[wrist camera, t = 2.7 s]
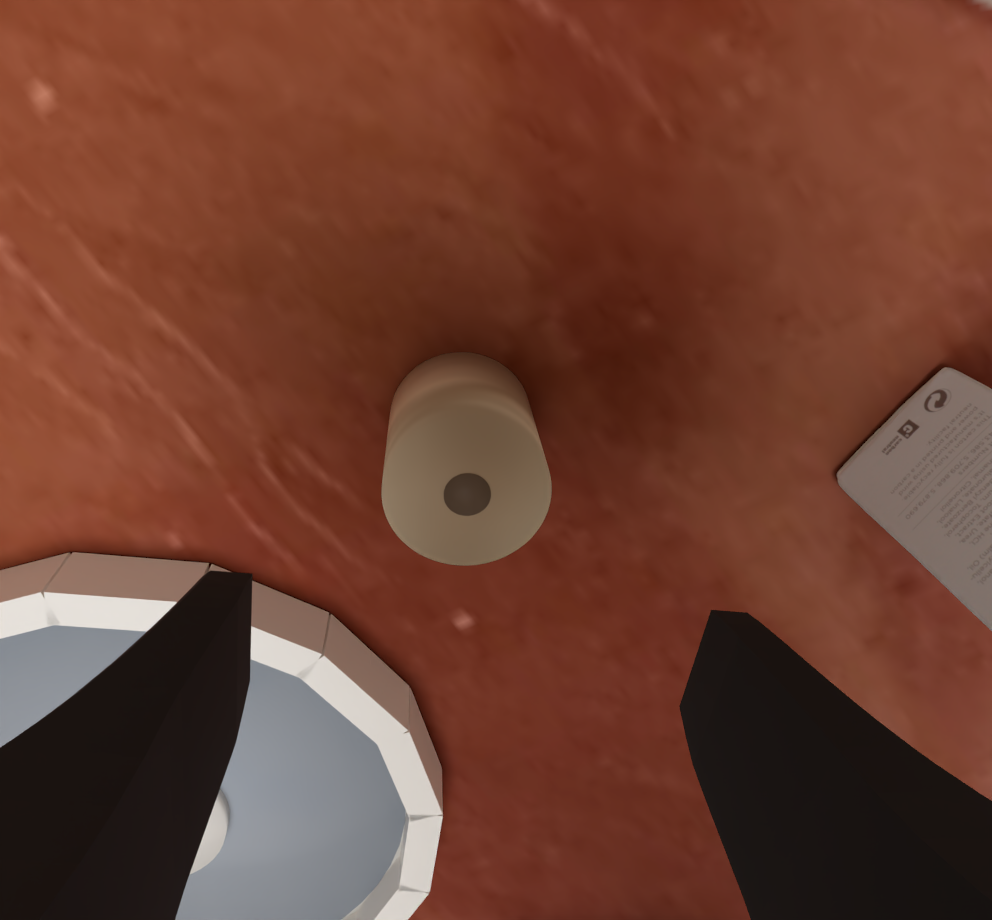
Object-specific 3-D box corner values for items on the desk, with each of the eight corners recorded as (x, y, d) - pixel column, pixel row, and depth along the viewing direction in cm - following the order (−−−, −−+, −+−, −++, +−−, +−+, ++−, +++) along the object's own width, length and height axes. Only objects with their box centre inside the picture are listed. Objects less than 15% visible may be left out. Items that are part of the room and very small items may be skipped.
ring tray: (472, 584, 23) (476, 623, 21) (407, 973, 30) (407, 1024, 29) (-230, 527, 20) (-286, 567, 19) (-107, 966, 28) (-139, 1021, 26)
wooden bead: (541, 361, 20) (565, 427, 16) (518, 487, 21) (536, 573, 18) (397, 343, 19) (389, 407, 16) (383, 474, 21) (374, 559, 17)
